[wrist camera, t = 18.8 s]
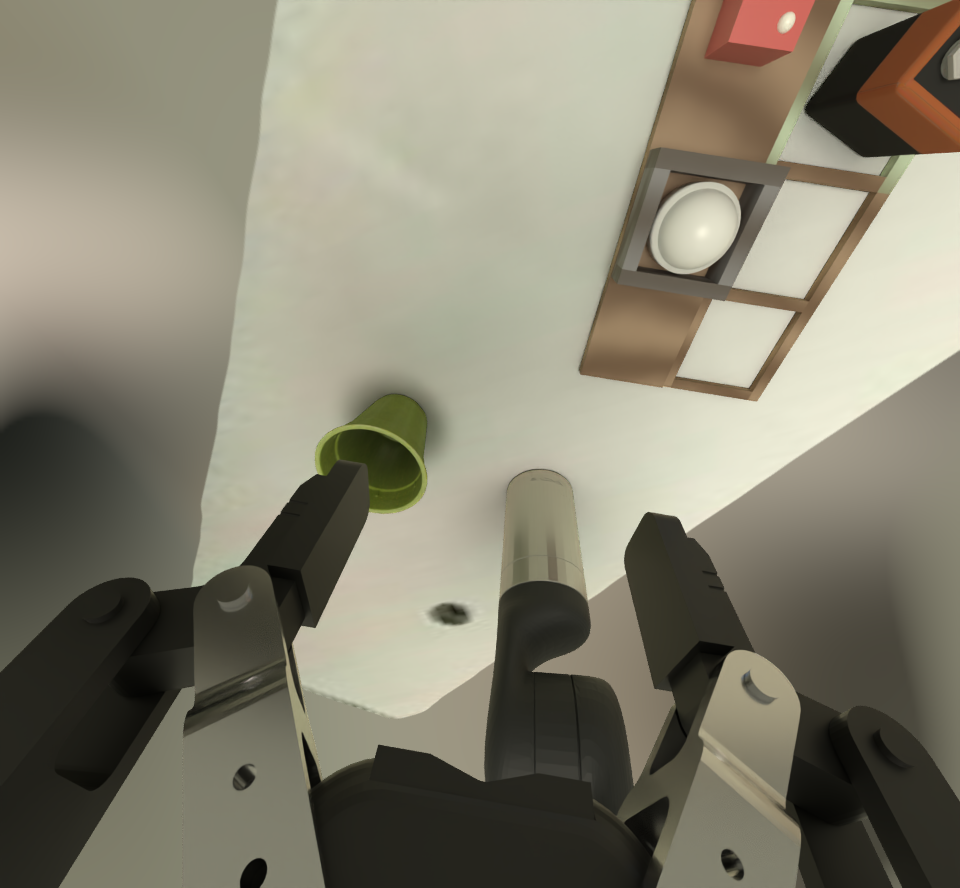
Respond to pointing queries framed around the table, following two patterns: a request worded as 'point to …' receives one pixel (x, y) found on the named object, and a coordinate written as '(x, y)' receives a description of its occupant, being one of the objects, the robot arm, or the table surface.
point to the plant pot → (383, 451)
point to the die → (757, 30)
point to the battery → (898, 88)
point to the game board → (742, 168)
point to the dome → (694, 227)
